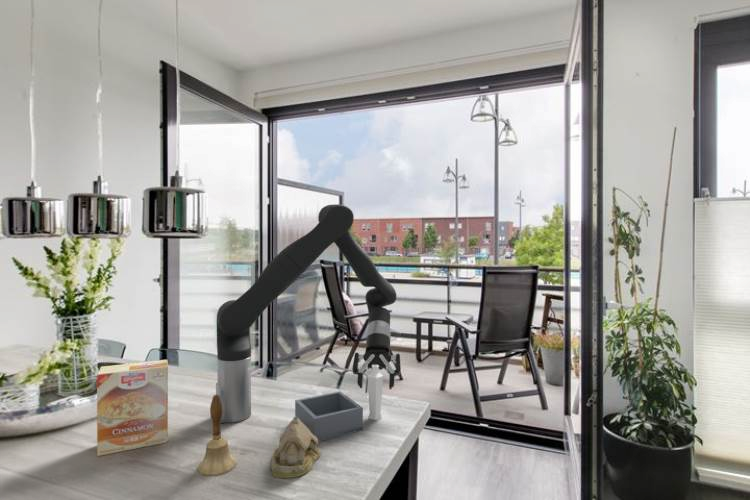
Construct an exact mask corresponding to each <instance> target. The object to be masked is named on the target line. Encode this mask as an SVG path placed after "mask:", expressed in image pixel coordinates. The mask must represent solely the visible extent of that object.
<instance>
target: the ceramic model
mask: <svg viewBox="0 0 750 500" xmlns="http://www.w3.org/2000/svg"><path fill="white" fill-rule="evenodd" d="M318 443H319V441H318V438H317V437H316V436H314V435H313V434H312V433H311V431H310V430H309V429H308V428H307V427H306V426H305V425H304V424H303V423H302V422H301V421H300V420H299V418H298V417H295V416H294V417H293V418H292V420H291V421H290V423H289V424H288V425H287V426H286V427H285V429H284V430H283V432H281V434H280V435H279V440H278V446H277V447H276V448H275V450H274V452H273V453H272V457H271V470H272V474H273V475H274V476H275V477H277V478H279V479H280V478H282V479H284V478H286V479H288V478H297V477H301V476H303V475H306V474H307V473H308V472H309V471H311V469H312V468H313V464H314V463H315V462H316V461H317V460H318V459H319V457H320V456H321V454H322V451H321V449H319V448H317V445H319V444H318Z"/></svg>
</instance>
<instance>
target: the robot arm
mask: <svg viewBox="0 0 750 500" xmlns="http://www.w3.org/2000/svg"><path fill="white" fill-rule="evenodd" d="M354 218H355V216H354V212H353V210H352V209H351V208H350V207H349V206H348V205H344V204H340V203H339V204H336V203H335V204H327V205H325V206H323V207H322V208H321V209H320V210H319V212H318V217H317V220H318V223H317V224H316V225H315V227H313V228H312V229H311V230H310V231H309V232H308V233H306V234H305V235H303V236H301V237H300V238H298V239H297V240H295V241H293V242H292V243H290V244H289V245H287V246H286V247H285V248H283V250H281V251H280V252H279V253H278V254H276V256H275V257H274V258H273V259H272V260H271V261H270V262H269V263H268V264H267V265H266V266H265V268H264V269H263V270H262V272H261V273H260V275H259V276H258V277H257V279H256V280H255V282H254V283H253V284H252V285H251V286H250V288H248V290H246V291H245V292H244V293H243V294H241V295H240V297H237V299H232V300H228V301H226V302H224V303H223V304H221V305H220V307H219V309H218V310H217V314H216V351H217V353H216V355H217V368H216V369H217V373H216V374H217V375H216V376H217V382H216V383H215V395H219V397H220V400H221V403H222V417H221V421H220V424H221V423H235V422H236V423H238V422H241V421H245V420H246V419H248V418H249V417H251V415H252V345H251V336H250V335H251V333H250V332H251V331H250V330H251V329H250V328H251V327H252V326H253V325H254V324H255V322H256V321H257V320H258V318H259V317H260V316H261V315H262V314H263V313H264V311H266V309H267V308H268V307H269V306H270V305H271V304H272V303H273V302H274V301H275V300H276V299H277V298H278V297H279V296H280V295H282V294H283V293H284V292H285V291H286V290H287V289H288V288H289V287H291V285H293V283H295V282H296V281H297V280H298V279H299V278H300V277H301V275H303V274H304V273H305V271H307V269H308V268H309V267H310V266H311V265H313V263H314V262H316V260H317V259H318V258H319V257H321V254H323V253H324V252H325V251H326V250H327V249H328V248H329V247H330V246H332V244H333V243H334V244H335V245H336V247H337V248H338V250H339V251H340V252H341V254H342V255H343V256H344V258H345V260H346V261H347V262H348V264H349V266H350V268H351V269H352V271H353V272H354V274H355V277H356V278H357V279H358V281H359V282H360V284H361V285H362V286H363V287H364V288H371V289H369V290H367V292H366V293H365V297H364V298H365V303H366V307H367V310H368V311H367V312H368V325H367V329H366V341H365V352H364V354H360V353H359V352H355V353H354V357H353V363H352V369H351V370H352V374H353V375H357V386H358V387H359V389H363V387H364V386H363V383H364V375H365V374H366V373H367V372H368V371H369V370H370V369H371V370H372V365H378V366H379V370H380V371H382V370H383V369H384V370H385V372H386V373H387V374H388V376H389V379H388V380H389V382H388V387H389V390H393V389H392V388H395V378H396V377H397V376H398V377H400V376H401V370H402V369H401V368H402V367H401V354H400V353H396V354H395V355H393V354H392V355H391V338H392V337H391V313H390V311H389V309H388V308H386V306H390V305H393V304H394V303H395V302H396V300H397V292H396V290H395V287H394V286H393V285H392V284H391V283H390V282H389V281H388V280H387V279H386V278H385V277H384V276H383V275H381V273H380V272H379V270H378V269H377V267H376V265H375V263H374V262H373V260H372V259H371V256H369V254H368V253H367V252H366V251H365V250H364V249H363V248H362V246H360V244H359V243H358V241H356V239H355V238H354V237H353V235H352V233H351V232H350V229H351V228H352V226H353V224H354V220H355V219H354ZM362 360H364V361H363V362H364V363H362V365H361V366H360V368H359V363H361V362H362ZM391 361H393V363H394V364H396V365H395V366H396V367H395V368H396V369H394V368H393V367H392V366H391V363H390V362H391Z"/></svg>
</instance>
